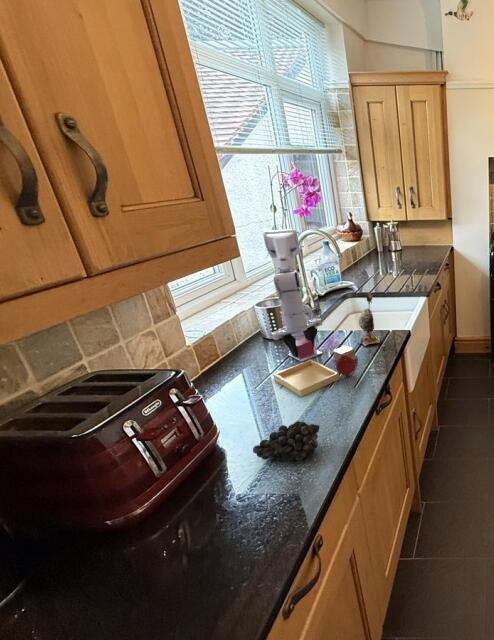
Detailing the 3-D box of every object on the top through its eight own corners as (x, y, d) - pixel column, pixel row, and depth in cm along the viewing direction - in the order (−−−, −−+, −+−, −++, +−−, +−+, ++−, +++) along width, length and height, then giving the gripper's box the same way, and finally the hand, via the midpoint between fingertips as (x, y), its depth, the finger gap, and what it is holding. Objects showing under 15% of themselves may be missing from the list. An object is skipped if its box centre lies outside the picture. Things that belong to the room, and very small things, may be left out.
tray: (274, 380, 127) (273, 374, 126) (312, 364, 136) (310, 359, 136) (301, 396, 118) (300, 390, 117) (339, 378, 127) (338, 373, 126)
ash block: (334, 360, 139) (332, 350, 137) (347, 355, 142) (345, 345, 141) (343, 364, 136) (341, 354, 134) (355, 359, 140) (354, 348, 138)
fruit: (240, 432, 87) (311, 425, 89) (259, 421, 96) (324, 414, 97) (244, 471, 88) (315, 463, 89) (263, 456, 96) (327, 449, 97)
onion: (359, 371, 131) (356, 349, 128) (352, 380, 126) (348, 357, 123) (342, 370, 132) (338, 348, 129) (334, 379, 126) (330, 357, 123)
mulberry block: (293, 355, 124) (290, 342, 122) (306, 350, 127) (304, 337, 126) (300, 359, 121) (297, 346, 120) (314, 354, 125) (311, 341, 123)
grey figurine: (379, 333, 160) (372, 285, 152) (381, 345, 150) (374, 294, 142) (358, 336, 157) (350, 288, 150) (358, 348, 147) (350, 296, 140)
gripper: (275, 322, 112) (286, 365, 116) (323, 307, 122) (331, 348, 127) (264, 317, 116) (274, 359, 121) (311, 303, 126) (319, 342, 131)
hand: (303, 353), depth 124 cm, fingers closed on mulberry block, 4 cm apart
